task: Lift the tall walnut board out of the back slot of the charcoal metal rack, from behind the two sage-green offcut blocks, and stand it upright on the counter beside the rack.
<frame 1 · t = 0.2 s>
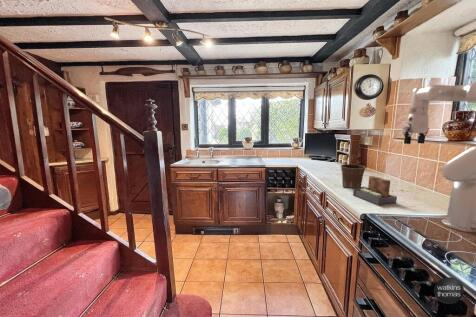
hand: (414, 143, 121), 36 cm above the countertop, tool pointing down, fingers open, 9 cm apart
baseboard: (404, 201, 138), on the countertop
plant pot: (351, 187, 165), on the countertop
rack: (373, 200, 137), on the countertop
offcut right: (365, 197, 139), point 1 cm above the countertop, touching rack
walnut board: (377, 198, 138), point 1 cm above the countertop, touching rack
offcut left: (374, 201, 133), point 1 cm above the countertop, touching rack
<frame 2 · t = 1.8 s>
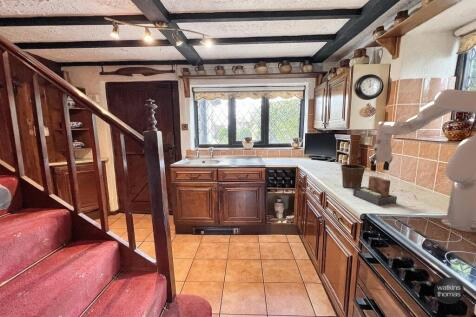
hand: (379, 170, 135), 19 cm above the countertop, tool pointing down, fingers open, 9 cm apart
nothing on the countertop moved.
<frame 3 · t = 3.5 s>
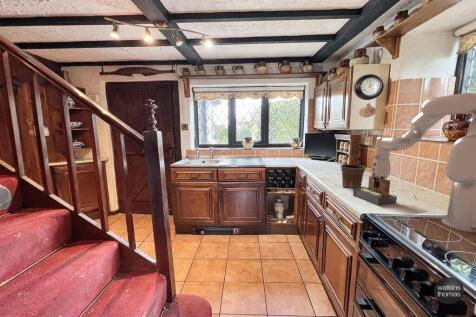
hand: (378, 186, 136), 9 cm above the countertop, tool pointing down, fingers closed on walnut board, 3 cm apart
walnut board: (377, 198, 138), point 1 cm above the countertop, touching gripper, rack
everything else where it was.
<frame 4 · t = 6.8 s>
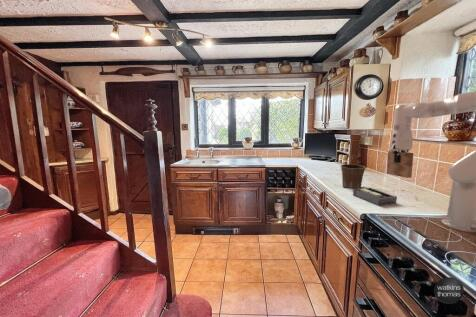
hand: (399, 161, 121), 26 cm above the countertop, tool pointing down, fingers closed on walnut board, 3 cm apart
walnut board: (398, 175, 123), point 19 cm above the countertop, touching gripper
everything else where it was.
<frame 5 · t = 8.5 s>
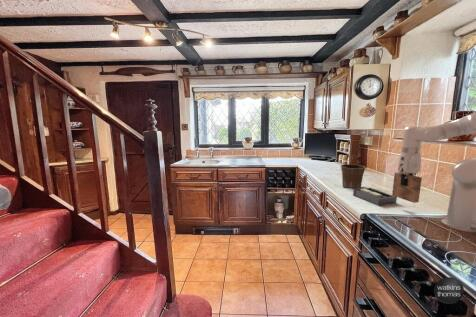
hand: (406, 184, 118), 15 cm above the countertop, tool pointing down, fingers closed on walnut board, 3 cm apart
walnut board: (404, 198, 119), point 7 cm above the countertop, touching gripper
everything else where it was.
when the fingers open (9 cm above the countertop, at t = 10.1 s): walnut board drops 2 cm, on the countertop.
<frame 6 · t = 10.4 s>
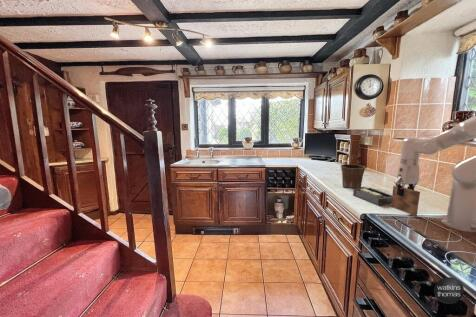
hand: (405, 194, 118), 10 cm above the countertop, tool pointing down, fingers open, 6 cm apart
walnut board: (403, 211, 120), on the countertop
everything else where it was.
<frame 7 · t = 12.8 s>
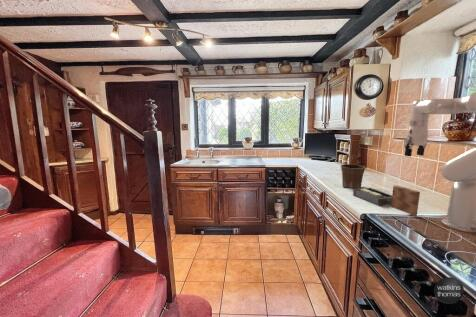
hand: (413, 155, 122), 30 cm above the countertop, tool pointing down, fingers open, 9 cm apart
nothing on the countertop moved.
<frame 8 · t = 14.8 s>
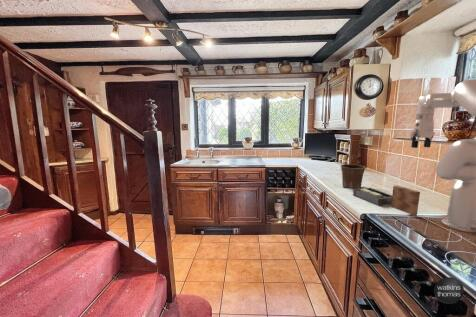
hand: (420, 147, 130), 33 cm above the countertop, tool pointing down, fingers open, 9 cm apart
nothing on the countertop moved.
at the end: walnut board inside the target area (0.1 cm from its centre), on the countertop; walnut board tilted 0°; offcut left moved 0.0 cm from its start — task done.
